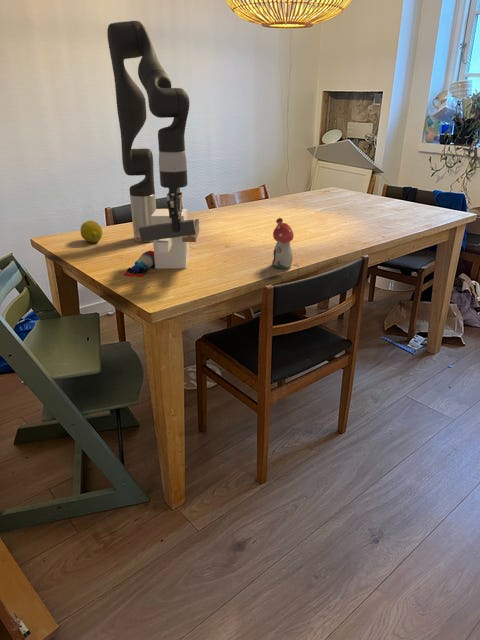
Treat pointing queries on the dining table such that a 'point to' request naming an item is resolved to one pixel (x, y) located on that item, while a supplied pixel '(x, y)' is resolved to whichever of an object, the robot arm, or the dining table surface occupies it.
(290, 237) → the decorative ornament
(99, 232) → the lemon
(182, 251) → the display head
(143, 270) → the toy figure
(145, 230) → the grey u-shaped bracket
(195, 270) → the dining table surface
